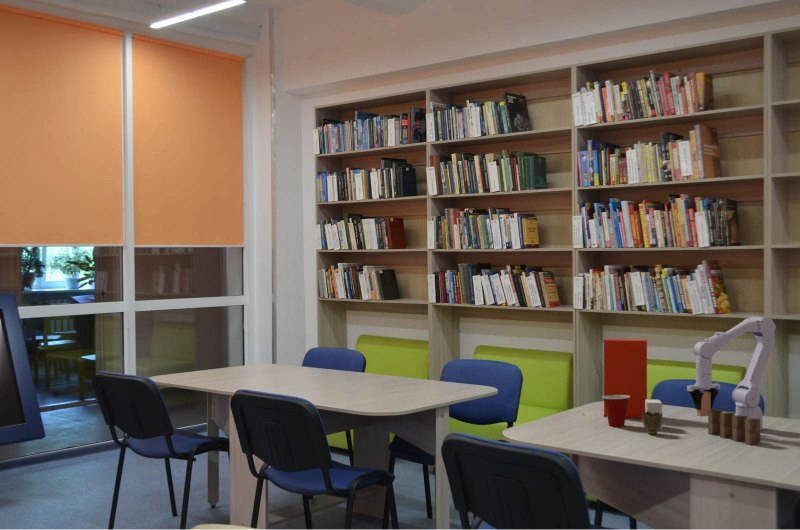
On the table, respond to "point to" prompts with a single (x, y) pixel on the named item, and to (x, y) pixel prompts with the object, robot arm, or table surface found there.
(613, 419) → the plastic cup
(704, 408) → the domino
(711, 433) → the domino
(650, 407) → the small box
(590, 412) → the table surface
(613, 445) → the table surface
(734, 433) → the domino
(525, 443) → the table surface
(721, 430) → the domino
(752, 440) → the domino
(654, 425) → the cup
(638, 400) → the tall red box
